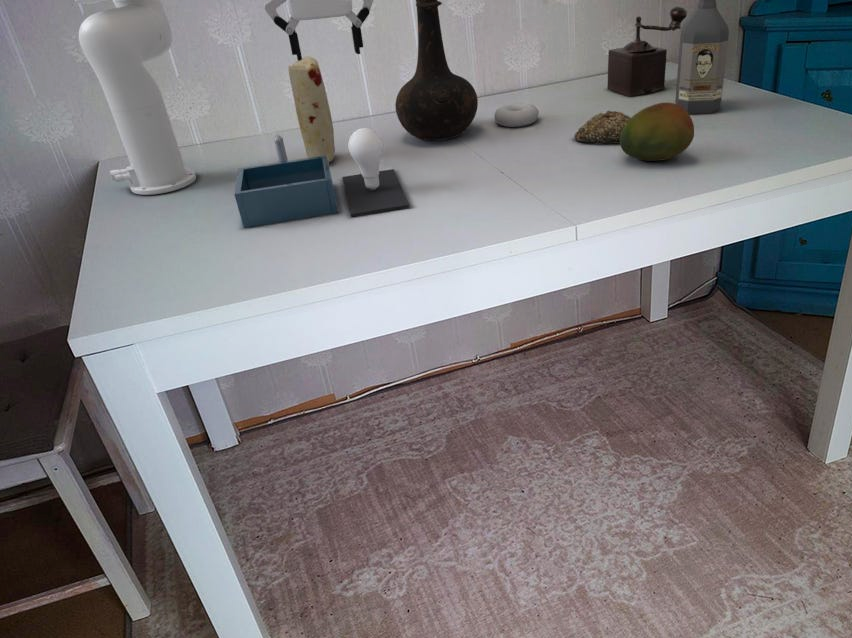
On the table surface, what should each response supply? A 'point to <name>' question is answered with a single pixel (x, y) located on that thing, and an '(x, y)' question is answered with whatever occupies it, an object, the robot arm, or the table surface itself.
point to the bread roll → (603, 128)
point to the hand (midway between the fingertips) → (328, 55)
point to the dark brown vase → (434, 86)
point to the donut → (516, 114)
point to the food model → (312, 108)
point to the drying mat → (374, 194)
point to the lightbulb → (367, 154)
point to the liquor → (702, 60)
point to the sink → (285, 189)
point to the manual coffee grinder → (641, 61)
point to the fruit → (657, 132)
